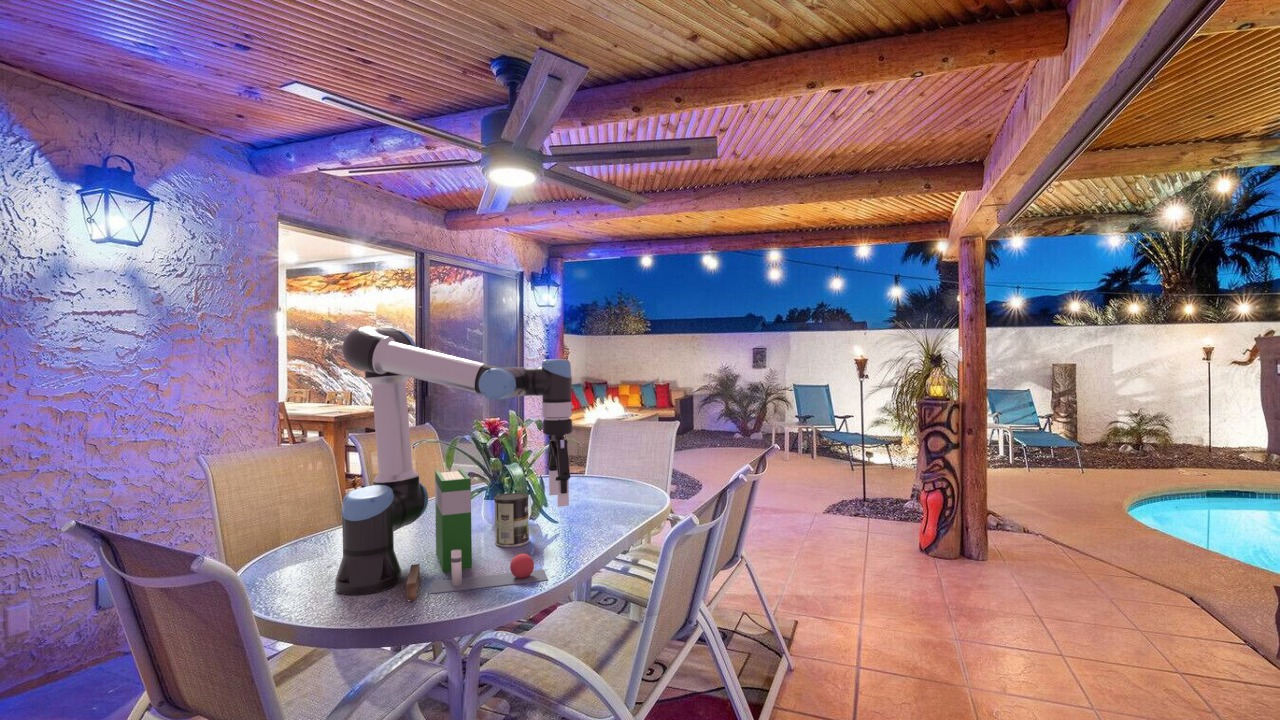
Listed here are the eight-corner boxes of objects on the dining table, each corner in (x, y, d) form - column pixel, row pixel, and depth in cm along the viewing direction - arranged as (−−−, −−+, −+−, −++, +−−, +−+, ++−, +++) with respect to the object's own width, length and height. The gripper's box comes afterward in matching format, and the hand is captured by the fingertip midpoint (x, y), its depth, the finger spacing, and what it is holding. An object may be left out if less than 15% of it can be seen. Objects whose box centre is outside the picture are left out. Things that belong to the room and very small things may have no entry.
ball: (511, 583, 152) (510, 559, 152) (509, 575, 157) (509, 551, 157) (535, 580, 153) (535, 556, 153) (532, 572, 159) (532, 549, 159)
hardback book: (436, 553, 176) (435, 470, 176) (462, 549, 179) (461, 468, 179) (442, 572, 160) (441, 481, 160) (471, 568, 163) (470, 478, 163)
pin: (451, 587, 149) (450, 552, 149) (451, 584, 152) (451, 549, 152) (462, 586, 150) (461, 551, 150) (461, 582, 152) (461, 548, 152)
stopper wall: (406, 601, 141) (406, 584, 141) (411, 580, 154) (411, 564, 154) (416, 600, 141) (415, 583, 141) (419, 579, 155) (419, 563, 155)
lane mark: (430, 594, 145) (430, 593, 145) (431, 582, 153) (431, 581, 153) (548, 580, 153) (548, 579, 153) (543, 570, 161) (543, 569, 161)
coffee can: (528, 536, 192) (527, 491, 192) (530, 545, 182) (529, 498, 182) (494, 539, 190) (493, 493, 190) (494, 548, 180) (494, 501, 180)
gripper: (581, 422, 148) (582, 509, 148) (563, 414, 172) (564, 489, 172) (550, 423, 146) (551, 512, 146) (536, 415, 169) (537, 491, 169)
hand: (558, 500), depth 159 cm, fingers open, 13 cm apart
